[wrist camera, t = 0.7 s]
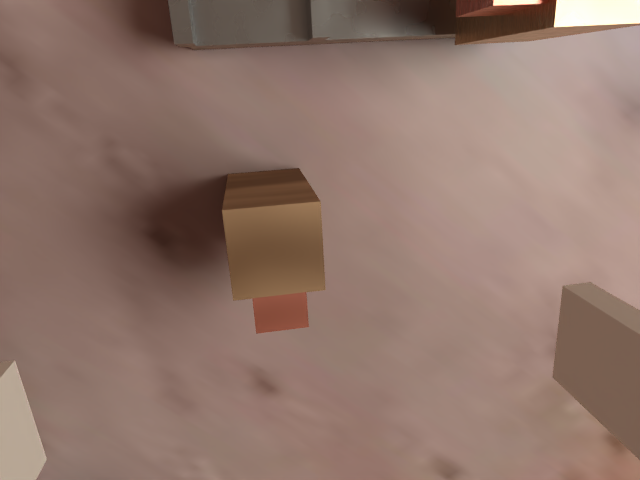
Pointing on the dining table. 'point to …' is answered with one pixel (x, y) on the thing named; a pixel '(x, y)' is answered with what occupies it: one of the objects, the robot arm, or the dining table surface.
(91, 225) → the dining table surface
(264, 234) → the walnut finger
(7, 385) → the robot arm
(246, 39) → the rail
